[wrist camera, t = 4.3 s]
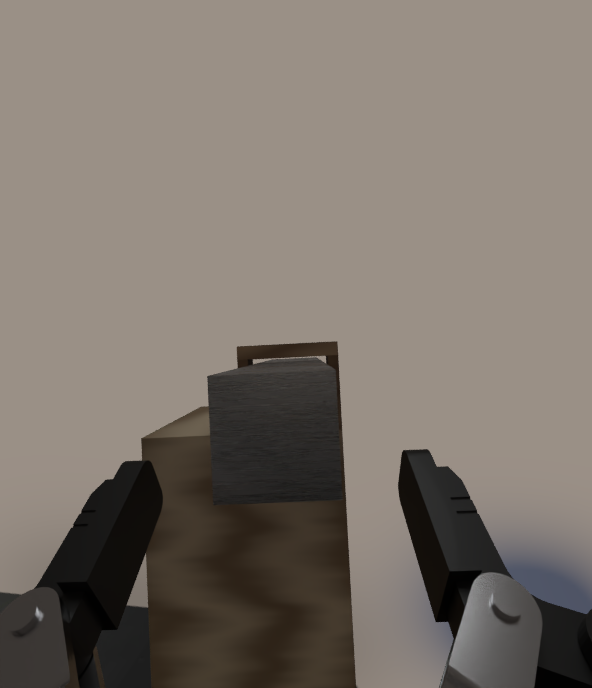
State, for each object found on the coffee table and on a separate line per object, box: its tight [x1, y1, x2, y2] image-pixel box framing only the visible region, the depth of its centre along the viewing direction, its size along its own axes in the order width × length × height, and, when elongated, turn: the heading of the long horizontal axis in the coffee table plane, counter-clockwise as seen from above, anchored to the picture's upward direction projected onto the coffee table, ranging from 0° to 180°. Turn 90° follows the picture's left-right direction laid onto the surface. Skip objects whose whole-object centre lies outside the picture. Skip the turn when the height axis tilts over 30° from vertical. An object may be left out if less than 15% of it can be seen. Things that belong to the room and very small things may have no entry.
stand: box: [141, 342, 356, 688], centre depth 27 cm, size 12×12×37 cm
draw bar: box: [207, 357, 343, 505], centre depth 22 cm, size 4×22×4 cm, turn 178°
